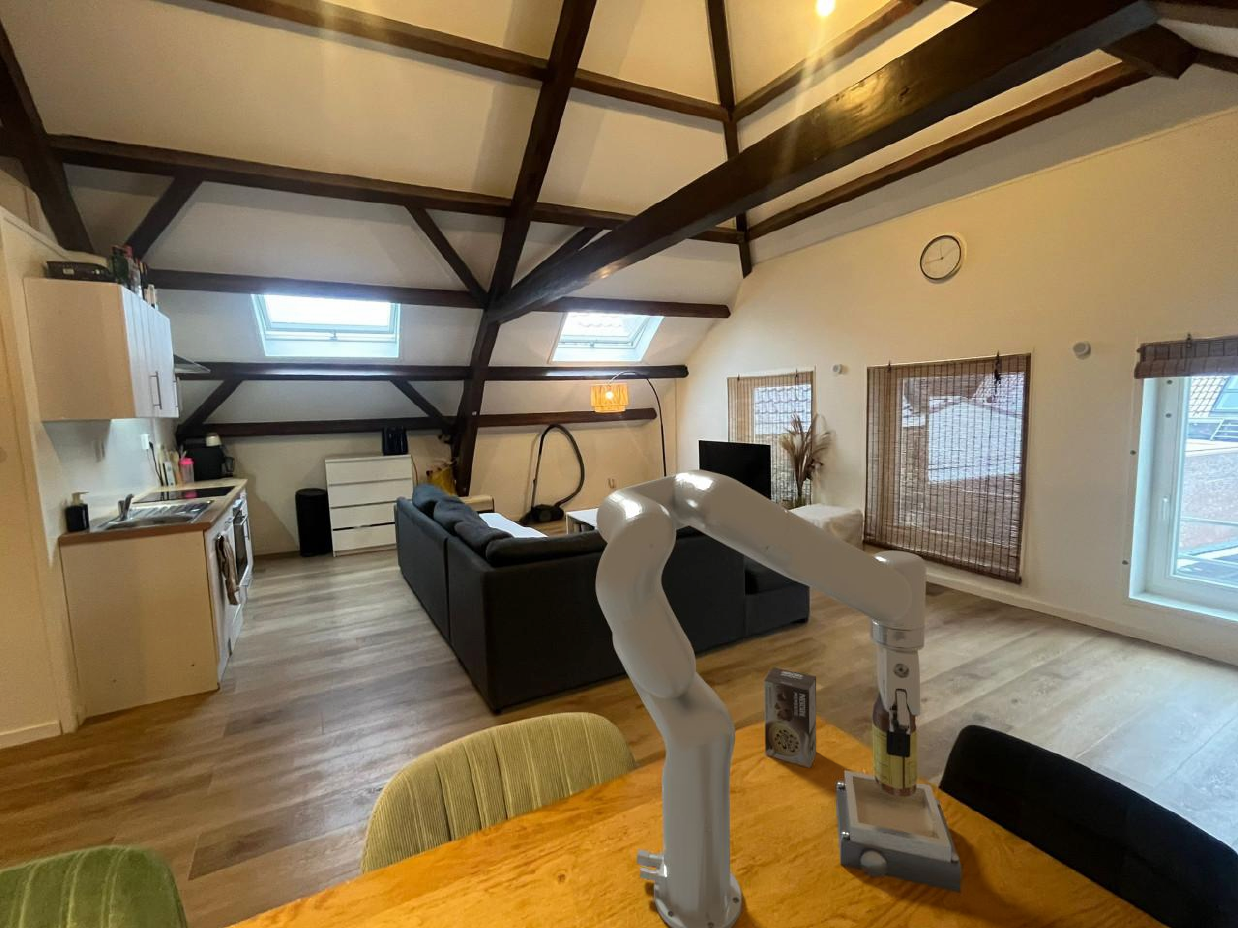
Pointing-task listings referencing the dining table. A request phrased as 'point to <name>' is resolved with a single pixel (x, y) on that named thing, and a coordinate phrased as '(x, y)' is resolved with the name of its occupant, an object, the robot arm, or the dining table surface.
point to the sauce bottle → (889, 769)
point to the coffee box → (790, 716)
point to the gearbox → (895, 833)
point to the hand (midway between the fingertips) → (894, 740)
